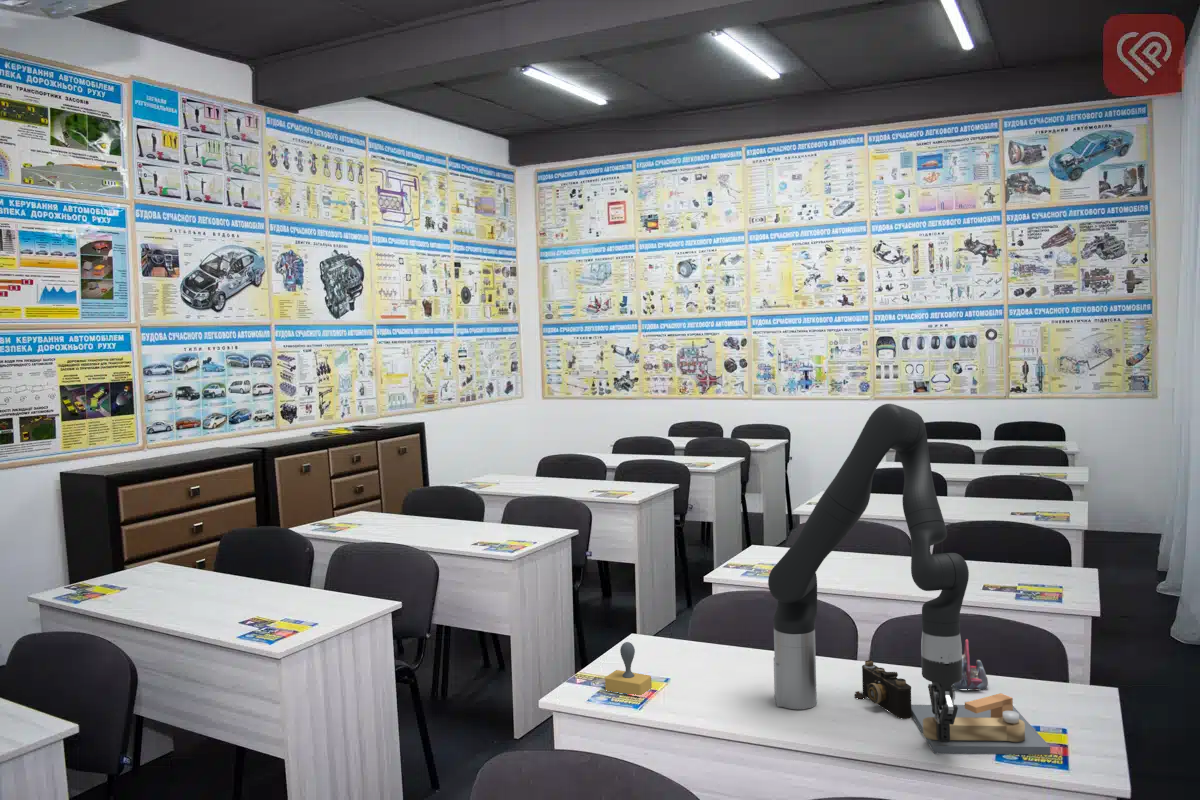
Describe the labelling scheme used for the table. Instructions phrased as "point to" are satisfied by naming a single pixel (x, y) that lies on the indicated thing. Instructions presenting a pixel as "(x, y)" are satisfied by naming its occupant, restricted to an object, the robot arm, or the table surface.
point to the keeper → (991, 705)
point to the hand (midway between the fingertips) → (943, 740)
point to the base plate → (1027, 746)
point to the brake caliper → (971, 673)
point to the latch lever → (978, 729)
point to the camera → (886, 690)
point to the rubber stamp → (628, 676)
